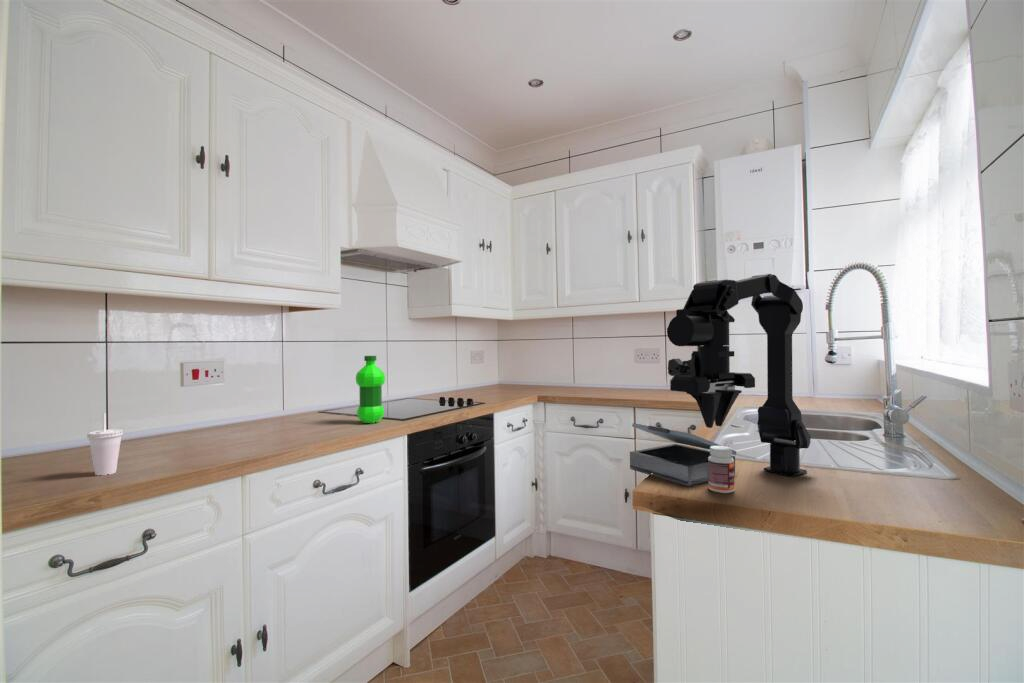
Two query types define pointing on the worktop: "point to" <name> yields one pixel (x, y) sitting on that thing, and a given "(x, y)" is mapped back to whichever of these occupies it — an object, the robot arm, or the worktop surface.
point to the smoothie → (105, 449)
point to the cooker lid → (678, 436)
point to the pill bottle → (721, 469)
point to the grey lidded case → (673, 463)
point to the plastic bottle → (370, 391)
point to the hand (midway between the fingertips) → (713, 426)
